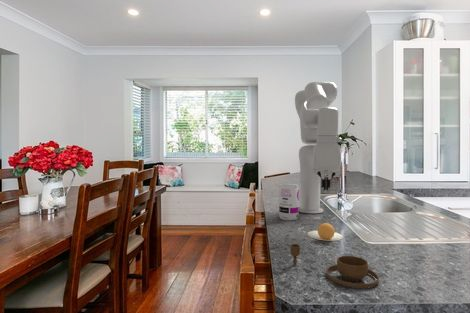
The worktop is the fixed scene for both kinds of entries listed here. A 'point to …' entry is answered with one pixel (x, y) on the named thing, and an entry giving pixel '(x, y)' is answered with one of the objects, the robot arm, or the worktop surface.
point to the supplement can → (288, 201)
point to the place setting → (345, 269)
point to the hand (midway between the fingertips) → (325, 189)
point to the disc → (315, 235)
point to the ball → (326, 231)
